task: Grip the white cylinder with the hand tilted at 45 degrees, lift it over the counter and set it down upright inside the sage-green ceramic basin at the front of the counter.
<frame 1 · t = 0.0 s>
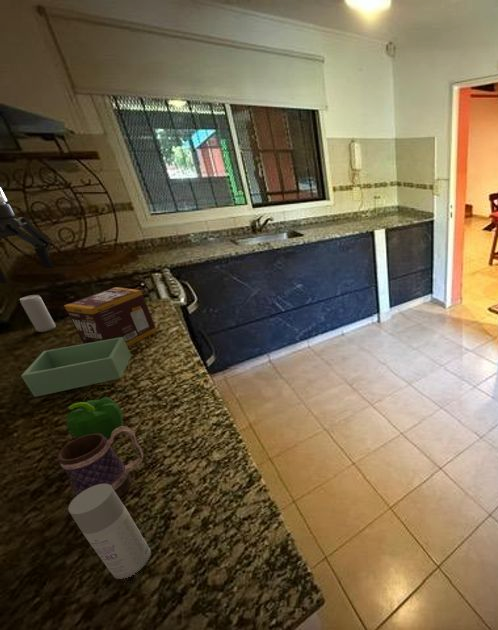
hand: (27, 275, 107), 21 cm above the countertop, tool pointing down, fingers open, 13 cm apart
container: (133, 563, 52), on the countertop
bell pepper: (106, 436, 75), on the countertop
basin: (87, 374, 95), on the countertop
mug: (120, 487, 64), on the countertop
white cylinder: (47, 329, 118), on the countertop
supplement box: (123, 341, 111), on the countertop
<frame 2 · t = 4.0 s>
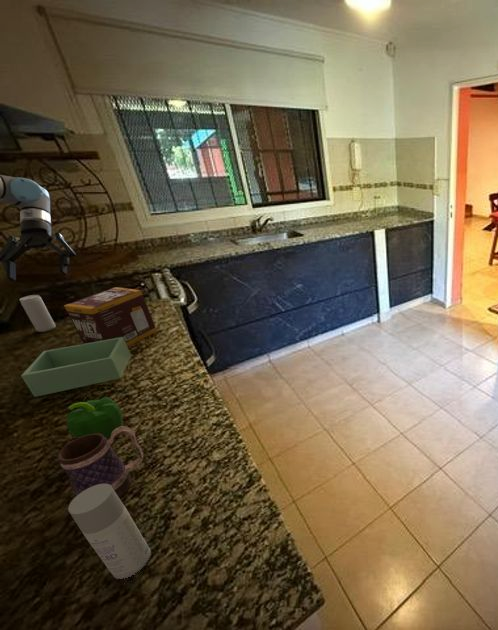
hand: (38, 276, 119), 16 cm above the countertop, tool tilted 45°, fingers open, 13 cm apart
nothing on the countertop moved.
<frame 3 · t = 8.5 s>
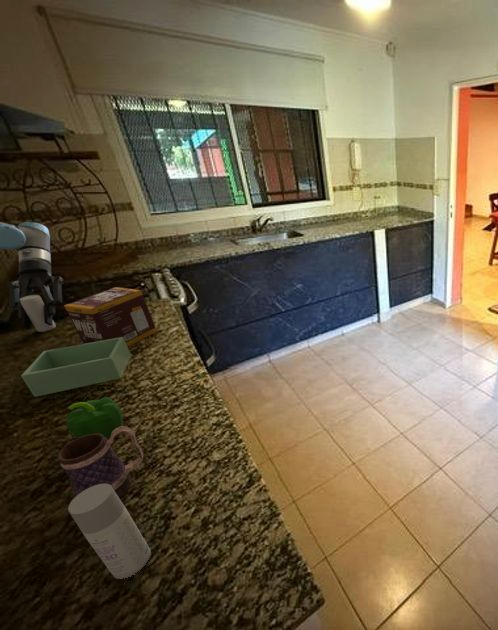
hand: (37, 325, 114), 3 cm above the countertop, tool tilted 45°, fingers closed on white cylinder, 5 cm apart
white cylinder: (47, 329, 118), on the countertop, touching gripper
everything else where it was.
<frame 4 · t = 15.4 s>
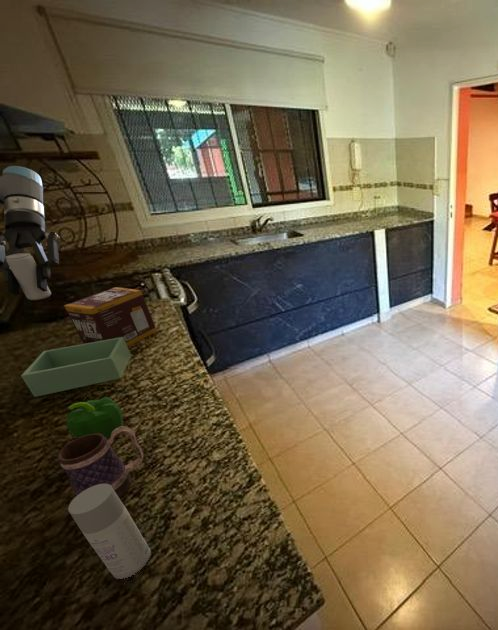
hand: (28, 290, 91), 22 cm above the countertop, tool tilted 45°, fingers closed on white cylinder, 5 cm apart
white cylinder: (40, 297, 95), point 19 cm above the countertop, touching gripper
everything else where it was.
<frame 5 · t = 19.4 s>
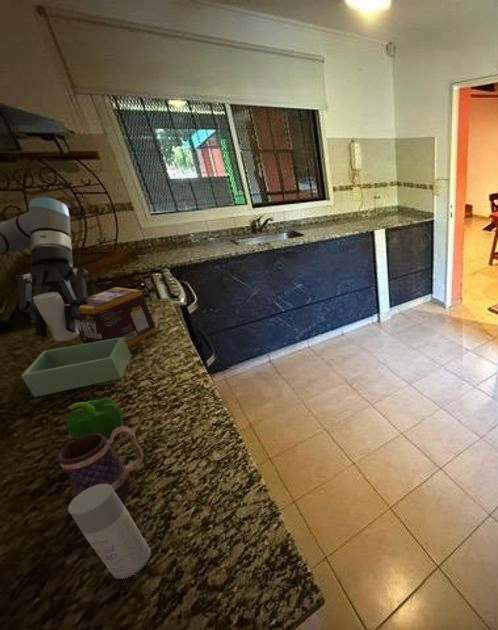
hand: (56, 333, 85), 15 cm above the countertop, tool tilted 45°, fingers closed on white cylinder, 5 cm apart
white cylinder: (68, 338, 90), point 12 cm above the countertop, touching gripper
everything else where it was.
when the fingers open (4 cm above the countertop, at t = 22.7 s): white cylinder stays where it is, resting on basin.
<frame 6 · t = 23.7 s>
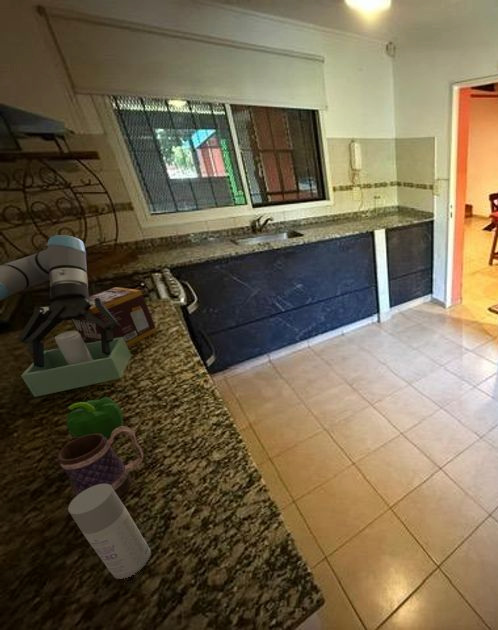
hand: (73, 359, 90), 6 cm above the countertop, tool tilted 45°, fingers open, 13 cm apart
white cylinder: (86, 373, 95), resting on basin
everything else where it was.
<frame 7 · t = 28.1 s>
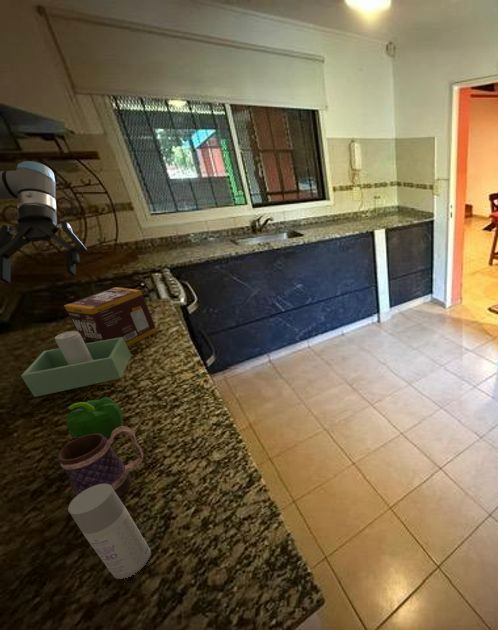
hand: (39, 277, 93), 25 cm above the countertop, tool tilted 45°, fingers open, 13 cm apart
nothing on the countertop moved.
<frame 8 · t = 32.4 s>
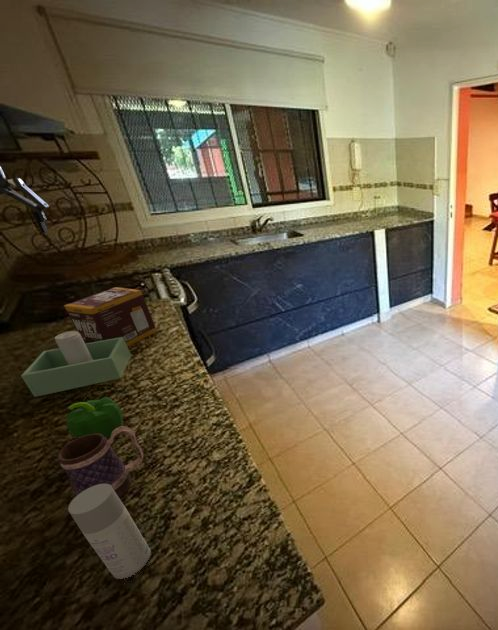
hand: (16, 234, 108), 32 cm above the countertop, tool pointing down, fingers open, 13 cm apart
nothing on the countertop moved.
at the end: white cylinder inside the target area in the basin (0.1 cm from its centre), point 0.4 cm above the basin's base; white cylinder tilted 0°; the gripper is holding nothing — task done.
